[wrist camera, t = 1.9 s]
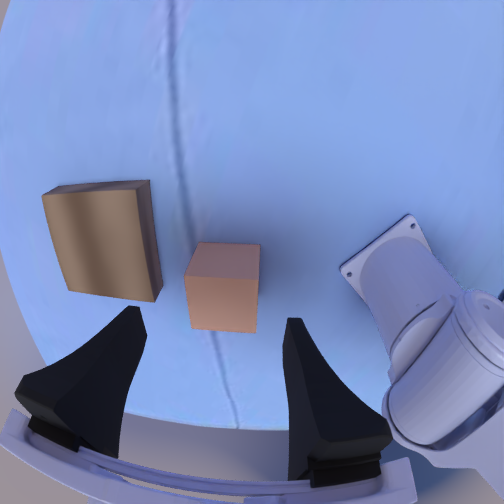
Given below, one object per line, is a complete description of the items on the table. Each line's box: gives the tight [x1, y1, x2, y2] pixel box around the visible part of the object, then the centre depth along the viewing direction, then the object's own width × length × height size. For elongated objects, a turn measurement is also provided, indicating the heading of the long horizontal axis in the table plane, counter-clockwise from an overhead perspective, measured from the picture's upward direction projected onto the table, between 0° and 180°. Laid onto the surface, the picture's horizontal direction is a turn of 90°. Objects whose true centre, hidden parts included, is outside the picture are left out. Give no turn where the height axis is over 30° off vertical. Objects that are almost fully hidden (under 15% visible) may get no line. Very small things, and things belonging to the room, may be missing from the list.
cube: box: [184, 242, 260, 333], centre depth 21 cm, size 5×5×5 cm
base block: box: [42, 180, 163, 303], centre depth 21 cm, size 10×10×3 cm
